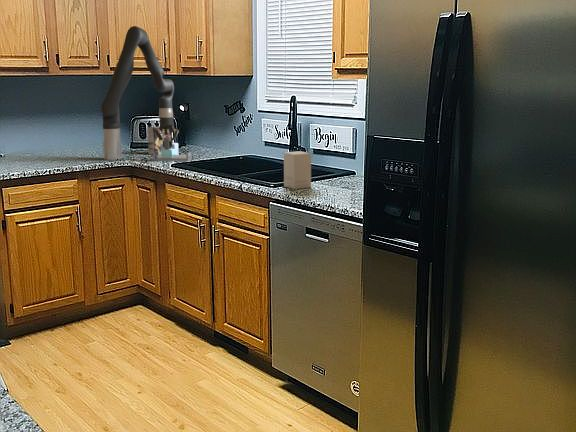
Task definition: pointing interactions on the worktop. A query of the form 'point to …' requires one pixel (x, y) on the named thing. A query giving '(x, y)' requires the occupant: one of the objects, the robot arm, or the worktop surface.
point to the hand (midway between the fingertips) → (167, 147)
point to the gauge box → (175, 146)
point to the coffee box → (154, 141)
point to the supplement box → (297, 169)
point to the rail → (188, 157)
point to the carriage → (167, 150)
